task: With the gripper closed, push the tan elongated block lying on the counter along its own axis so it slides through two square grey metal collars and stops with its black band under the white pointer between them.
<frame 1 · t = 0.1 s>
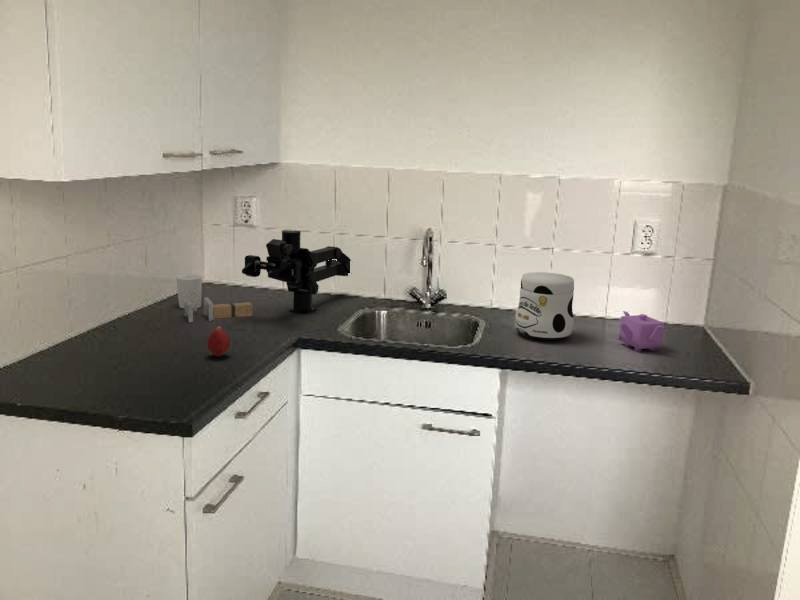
hand: (255, 273, 208), 17 cm above the worktop, tool horizontal, fingers open, 9 cm apart
tan elongated block: (232, 315, 225), on the worktop
collar rail: (199, 318, 221), on the worktop
milk container: (542, 336, 216), on the worktop
onion: (219, 357, 185), on the worktop
white cup: (190, 307, 234), on the worktop
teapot: (637, 348, 207), on the worktop
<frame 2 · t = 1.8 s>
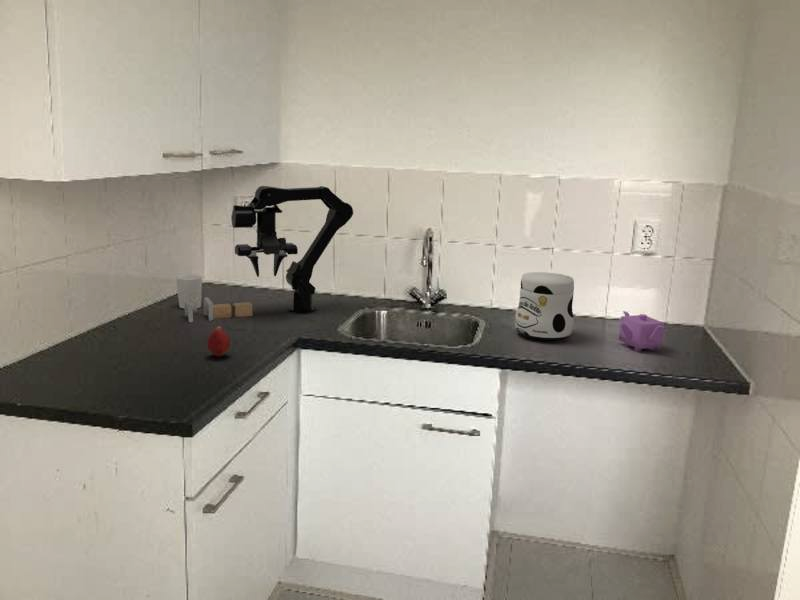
hand: (266, 276, 226), 12 cm above the worktop, tool pointing down, fingers open, 5 cm apart
nothing on the worktop moved.
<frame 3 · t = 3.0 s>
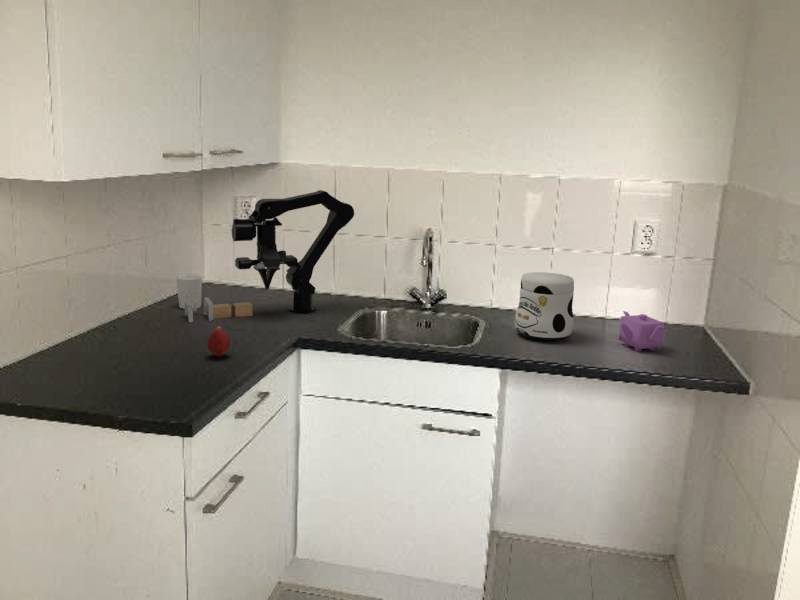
hand: (267, 288, 227), 8 cm above the worktop, tool pointing down, fingers closed
nothing on the worktop moved.
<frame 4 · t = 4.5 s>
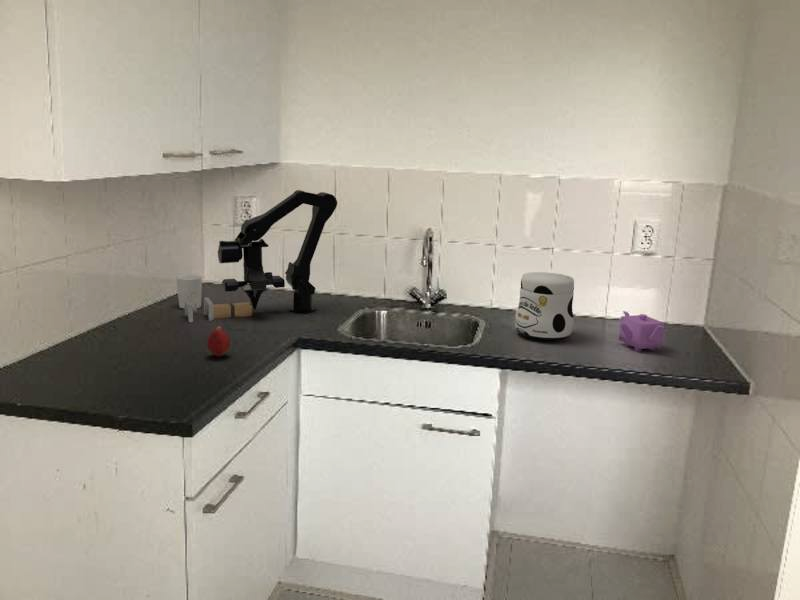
hand: (254, 309, 227), 1 cm above the worktop, tool pointing down, fingers closed
tan elongated block: (231, 315, 225), on the worktop, touching gripper
everything else where it was.
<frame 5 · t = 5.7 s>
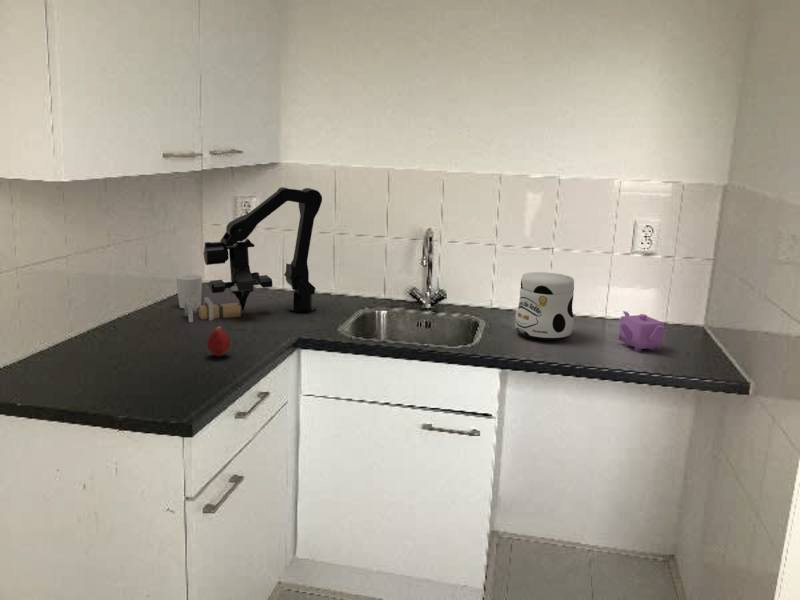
hand: (242, 310, 226), 1 cm above the worktop, tool pointing down, fingers closed
tan elongated block: (219, 316, 223), on the worktop, touching gripper
everything else where it was.
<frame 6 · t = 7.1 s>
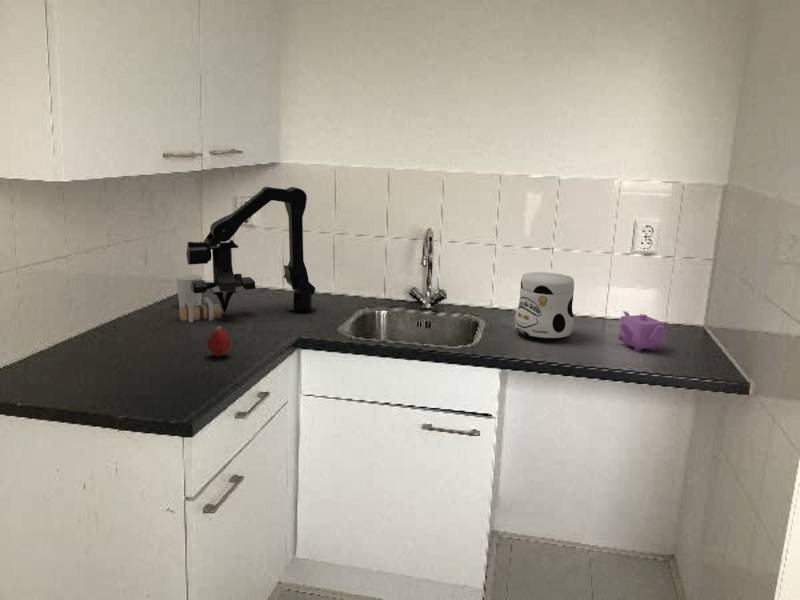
hand: (224, 311, 223), 1 cm above the worktop, tool pointing down, fingers closed
tan elongated block: (200, 318, 221), on the worktop, touching gripper
everything else where it was.
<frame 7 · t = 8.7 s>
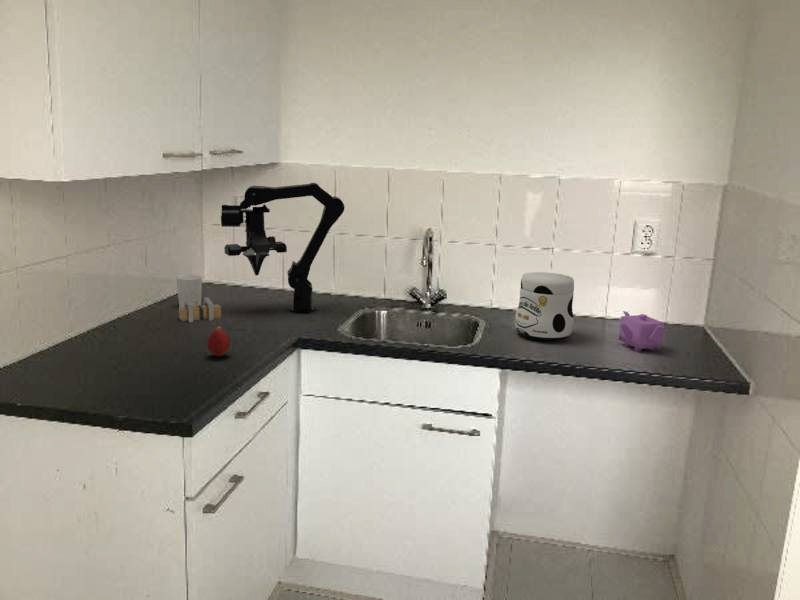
hand: (256, 275, 229), 12 cm above the worktop, tool pointing down, fingers closed
tan elongated block: (200, 318, 221), on the worktop
everything else where it was.
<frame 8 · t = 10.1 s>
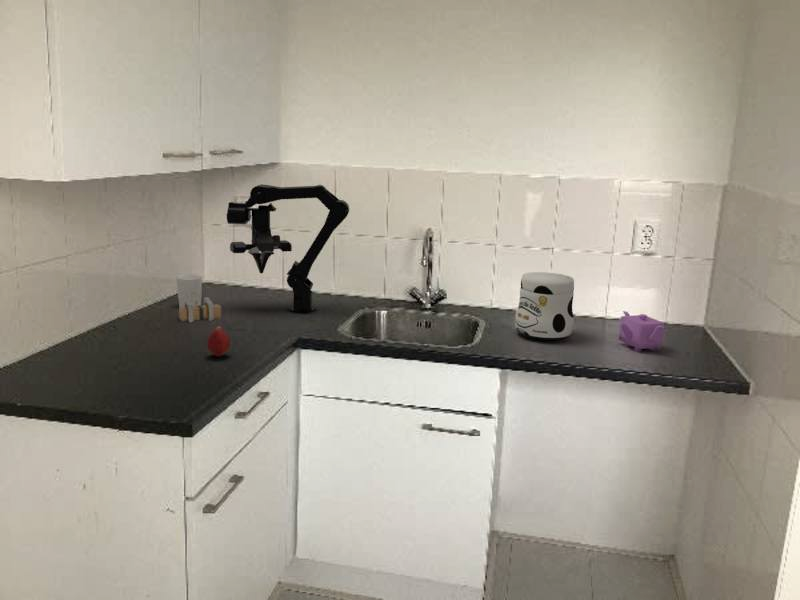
hand: (261, 273, 231), 12 cm above the worktop, tool pointing down, fingers closed
nothing on the worktop moved.
at the end: tan elongated block inside the target area on the collar rail (0.4 cm from its centre), point 0.0 cm above the collar rail's base; tan elongated block moved 9.8 cm from its start; the gripper is holding nothing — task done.
